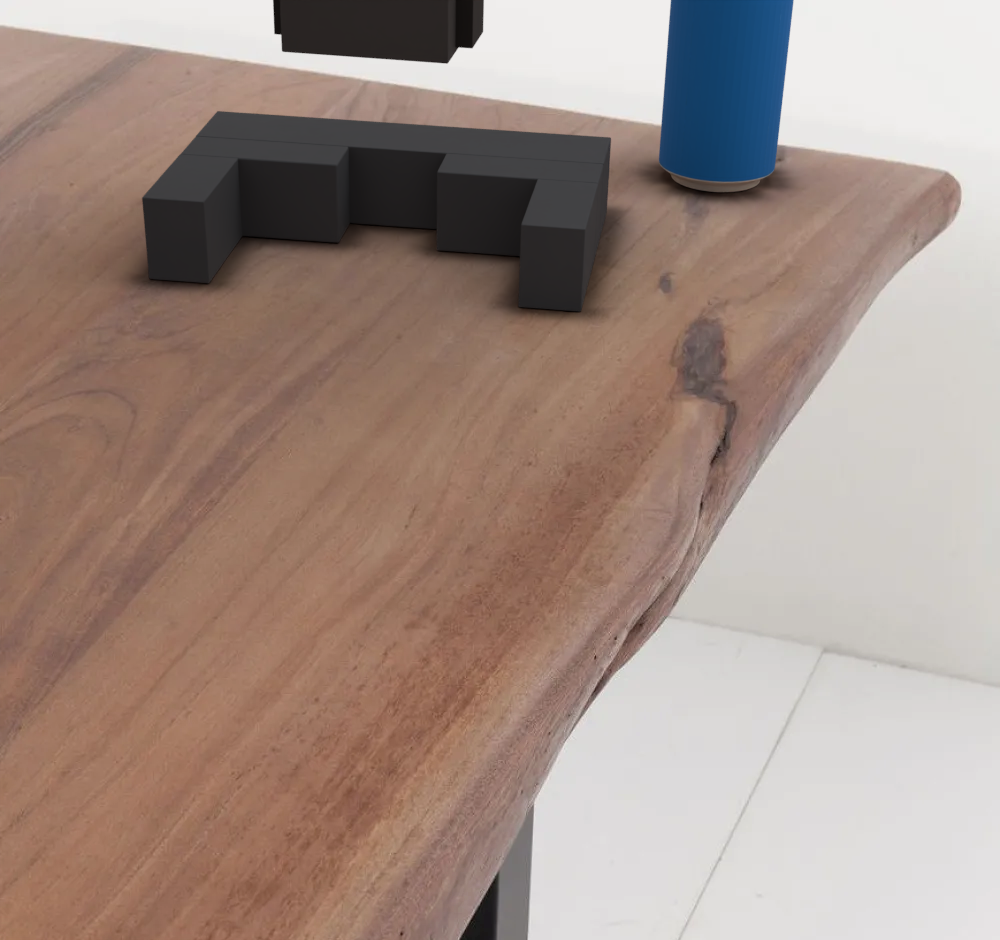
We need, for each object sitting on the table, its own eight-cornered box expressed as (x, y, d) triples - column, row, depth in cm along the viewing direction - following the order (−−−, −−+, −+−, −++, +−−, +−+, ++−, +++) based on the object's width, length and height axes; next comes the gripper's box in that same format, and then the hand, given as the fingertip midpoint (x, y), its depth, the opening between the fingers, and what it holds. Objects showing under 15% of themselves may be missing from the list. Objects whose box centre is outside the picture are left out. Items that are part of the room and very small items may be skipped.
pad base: (148, 279, 91) (141, 197, 89) (221, 185, 102) (217, 110, 100) (581, 311, 89) (585, 229, 87) (606, 212, 100) (611, 137, 98)
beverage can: (746, 156, 109) (769, -67, 102) (791, 192, 104) (819, -39, 97) (641, 163, 107) (657, -63, 100) (681, 200, 102) (701, -34, 95)
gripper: (65, -657, 65) (124, 39, 78) (644, -639, 62) (602, 74, 76) (134, -649, 71) (178, -5, 84) (664, -633, 68) (622, 26, 82)
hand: (379, 32), depth 80 cm, fingers closed on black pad, 7 cm apart
